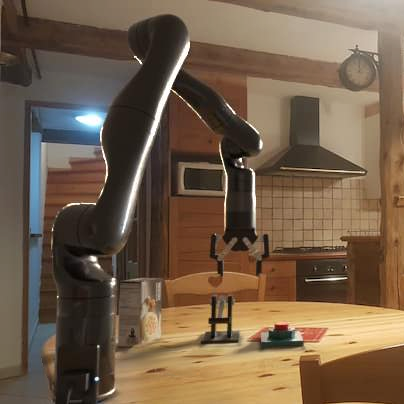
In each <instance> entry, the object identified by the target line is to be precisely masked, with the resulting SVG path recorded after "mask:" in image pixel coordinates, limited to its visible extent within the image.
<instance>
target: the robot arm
mask: <svg viewBox="0 0 404 404" xmlns="http://www.w3.org/2000/svg"><path fill="white" fill-rule="evenodd" d="M126 41H127V46H128V48H129V51H130V52H131V54H132V55H133V56H134V58H136V60H137V61H139V63H140V64H141V66H140V67H139V68H138V70H137V71H136V72H135V73H134V75H133V76H132V77H131V78H130V79H129V80H128V81H127V82H126V84H125V85H124V86H123V87H122V88H121V89H120V91H119V92H118V93H117V94H116V96H115V97H114V98H113V100H112V102H111V103H110V106H109V108H108V110H107V112H106V116H105V118H104V121H103V124H102V126H101V130H100V145H101V150H102V154H103V158H104V160H105V165H106V175H105V180H104V184H103V187H102V190H101V192H100V195H99V197H98V200H97V201H96V202H86V203H85V202H84V203H83V202H81V203H77V202H76V203H69V204H67V205H65V206H64V207H62V208H61V209H60V210H59V211H58V213H57V214H56V216H55V218H54V221H53V224H52V230H51V267H52V268H51V269H52V270H51V271H52V278H53V281H54V284H55V286H56V291H57V292H56V318H55V319H56V320H55V342H54V343H55V344H54V346H55V347H54V348H55V349H54V369H53V393H52V402H53V403H54V404H97V403H99V402H101V401H104V400H107V399H109V398H111V397H113V396H114V395H115V393H116V386H115V381H116V380H115V379H116V378H115V376H116V349H117V348H116V342H117V315H118V314H117V311H118V281H117V278H115V276H113V275H111V274H109V273H107V272H106V271H105V270H104V269H103V268H102V266H101V265H100V263H99V257H112V256H114V255H117V254H118V253H120V251H122V250H123V248H124V247H125V245H126V244H127V242H128V240H129V237H130V234H131V230H132V226H133V223H134V217H135V212H136V207H137V203H138V199H139V192H140V188H141V185H142V181H143V177H144V175H145V174H144V173H145V170H146V167H147V164H148V160H149V157H150V154H151V151H152V149H153V147H154V143H155V140H156V138H157V135H158V132H159V128H160V124H161V121H162V118H163V115H164V111H165V108H166V105H167V103H168V101H169V98H170V94H171V91H173V93H175V94H176V95H177V96H179V97H180V98H181V99H182V100H183V101H184V102H185V103H186V104H187V106H189V107H190V108H191V110H192V111H194V113H196V115H197V116H198V117H199V118H200V120H201V121H202V122H203V124H204V125H206V127H207V129H209V130H210V131H211V132H212V133H213V134H215V135H216V136H217V135H218V136H221V139H220V141H219V153H220V157H221V160H222V165H223V168H224V172H225V177H226V178H225V198H224V231H223V234H216V233H212V234H211V236H210V244H209V245H210V246H209V258H210V259H211V260H214V261H216V265H217V266H216V269H217V270H216V273H217V275H219V277H224V263H225V261H224V258H225V257H226V256H227V255H228V253H229V252H230V251H232V252H248V251H250V252H251V253H252V255H253V256H254V258H255V259H256V260H255V277H259V276H260V275H261V274H262V271H263V269H262V268H263V267H262V266H263V260H265V259H268V258H269V257H270V243H269V242H270V241H269V234H268V233H263V234H262V233H261V234H258V233H257V230H256V229H257V227H256V225H257V200H256V199H257V198H256V174H255V173H256V172H255V171H254V170H253V169H252V168H248V167H245V166H244V163H243V160H242V159H252V158H257V156H259V155H260V154H261V153H262V150H263V140H262V137H261V135H260V133H259V132H258V130H256V128H254V127H253V126H252V125H251V124H250V123H248V122H247V121H246V120H244V119H243V118H242V117H241V116H240V115H238V114H237V113H235V111H234V110H233V109H232V107H231V106H230V105H229V103H227V101H226V100H225V98H224V97H223V96H222V95H221V94H220V93H219V91H217V90H215V88H213V87H212V86H210V85H209V84H207V83H206V82H205V81H203V80H200V79H199V78H197V77H195V76H194V75H192V74H191V73H190V72H188V71H187V70H186V69H184V68H183V67H182V66H183V64H184V62H185V60H186V58H187V55H188V52H189V49H190V42H191V41H190V34H189V29H188V27H187V25H186V22H185V21H184V20H183V19H182V18H180V17H179V16H177V15H175V14H171V13H162V14H157V15H154V16H151V17H148V18H145V19H142V20H138V21H137V22H135V23H133V24H132V25H130V26H129V28H128V29H127V31H126ZM221 239H222V240H223V243H225V245H226V246H225V247H224V248H223V250H222V251H221V252H220V253H219V254H217V253H216V252H217V244H219V243H220V241H221ZM258 239H259V242H260V243H262V244H263V253H262V254H260V252H259V251H258V250H257V249H256V247H255V246H254V245H255V243H256V242H257V240H258Z"/></svg>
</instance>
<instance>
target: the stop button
mask: <svg viewBox="0 0 404 404" xmlns="http://www.w3.org/2000/svg"><path fill="white" fill-rule="evenodd" d="M273 327H274V330H278V331H284V330H289V327H290V323H289V322H286V321H279V322H278V321H277V322H275V323H274V325H273Z"/></svg>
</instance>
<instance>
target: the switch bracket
mask: <svg viewBox="0 0 404 404" xmlns="http://www.w3.org/2000/svg"><path fill="white" fill-rule="evenodd" d="M217 300H218V294H215V293H214V294H212V295H211V299H210V300H209V305H210V307H211V310H210V318H217V316H218V311H217V310H218V309H217ZM234 305H235V298H233V293H228V295H227V317H230V324H226V330H219V331H218V330H217V324H210V330H209V331H205V332H204V334H203V337H202V339H201V340H200V344H225V343H228V344H229V343H239V342H240V337H241V336H240V335H241V330H233V306H234ZM227 317H226V318H227Z"/></svg>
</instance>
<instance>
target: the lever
mask: <svg viewBox="0 0 404 404" xmlns="http://www.w3.org/2000/svg"><path fill="white" fill-rule="evenodd" d="M227 308H228V295H217V310H218V311H217V318H211V317H208V321H207V325H211V324H216V325H222V324H223V325H227V324H230V317H224V310H227Z"/></svg>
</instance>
